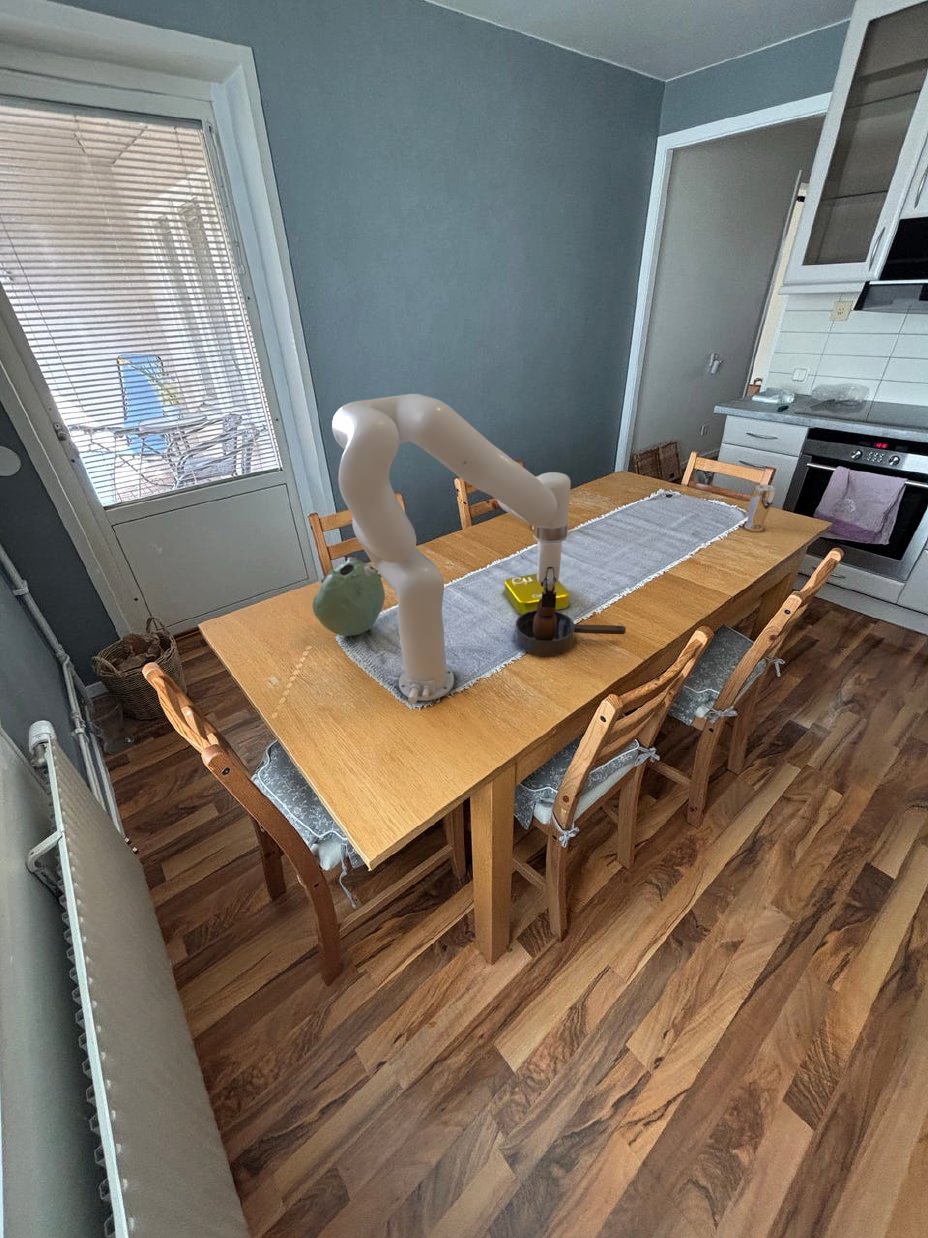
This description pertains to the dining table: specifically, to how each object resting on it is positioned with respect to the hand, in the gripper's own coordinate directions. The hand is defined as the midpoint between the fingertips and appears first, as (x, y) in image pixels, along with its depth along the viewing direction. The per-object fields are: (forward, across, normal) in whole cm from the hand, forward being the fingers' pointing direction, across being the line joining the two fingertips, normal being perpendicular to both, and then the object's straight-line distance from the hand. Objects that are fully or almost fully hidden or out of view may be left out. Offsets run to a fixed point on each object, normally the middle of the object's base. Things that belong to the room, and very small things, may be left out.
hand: (548, 596), depth 121 cm
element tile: (+13, -20, -3) cm, 24 cm away
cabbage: (+12, -1, -51) cm, 52 cm away
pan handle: (+10, 0, +13) cm, 16 cm away
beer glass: (+15, -74, +75) cm, 106 cm away
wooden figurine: (+12, 0, -1) cm, 13 cm away
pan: (+13, 0, -1) cm, 13 cm away
